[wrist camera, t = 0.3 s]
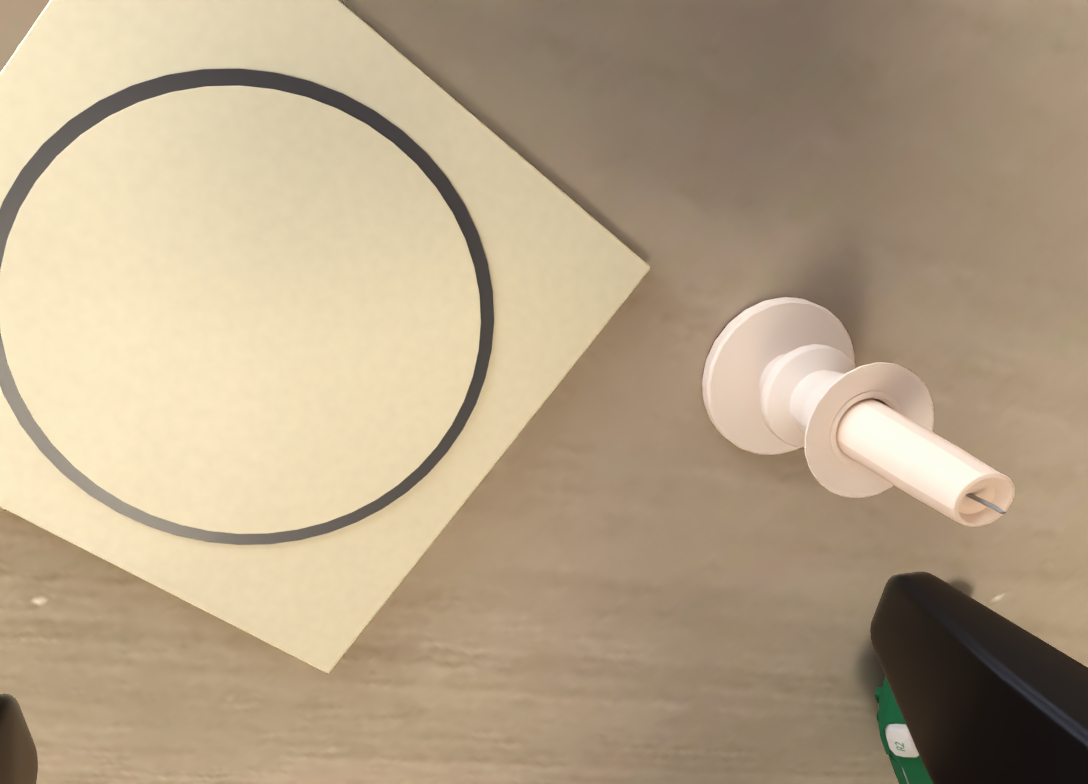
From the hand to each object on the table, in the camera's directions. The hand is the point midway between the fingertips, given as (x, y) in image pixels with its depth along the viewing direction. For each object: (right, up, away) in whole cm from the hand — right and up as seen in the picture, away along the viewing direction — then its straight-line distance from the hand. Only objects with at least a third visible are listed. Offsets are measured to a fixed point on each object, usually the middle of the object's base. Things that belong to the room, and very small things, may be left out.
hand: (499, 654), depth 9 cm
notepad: (-7, +5, +15) cm, 18 cm away
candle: (+8, +3, +20) cm, 22 cm away
